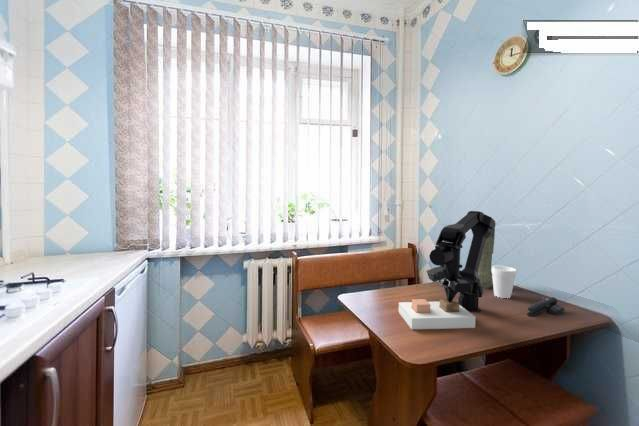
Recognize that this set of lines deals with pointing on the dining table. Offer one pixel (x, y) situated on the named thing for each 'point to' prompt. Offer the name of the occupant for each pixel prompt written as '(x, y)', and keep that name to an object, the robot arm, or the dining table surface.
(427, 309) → the terracotta key
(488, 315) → the dining table surface
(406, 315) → the key panel
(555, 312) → the can opener
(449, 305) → the walnut key
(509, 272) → the foam cup
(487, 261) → the thermos
